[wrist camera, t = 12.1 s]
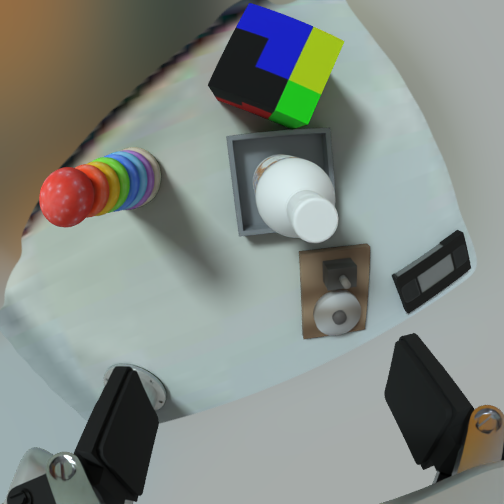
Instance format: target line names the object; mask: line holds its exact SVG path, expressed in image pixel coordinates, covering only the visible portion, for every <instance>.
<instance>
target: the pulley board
mask: <svg viewBox="0 0 504 504" xmlns="http://www.w3.org/2000/svg"><path fill="white" fill-rule="evenodd" d="M299 263H300V281H301V304H302V333H303V338H304V339H308V338H315V337H322V336H328V335H331V336H336V335H341V334H344V333H347V332H352V331H358V330H364V329H365V322H366V311H367V298H368V284H369V265H370V246H369V245H368V244H359V245H350V246H342V247H333V248H324V249H315V250H307V251H299Z"/></svg>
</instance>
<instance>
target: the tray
mask: <svg viewBox="0 0 504 504" xmlns="http://www.w3.org/2000/svg"><path fill="white" fill-rule="evenodd" d="M226 138H227V146H228V154H229V162H230V170H231V178H232V186H233V194H234V202H235V209H236V217H237V225H238V232H239V236H247V235H256V234H265V233H274V232H275V231H274V230H272V229H271V228H270V227H269V226H268V225H267V224H266V223H265V222H264V221H263V219H262V218H261V216H260V215H259V212H258V210H257V206H256V200H255V194H254V189H253V176H254V172H255V170H256V168H257V167H258V165H259V164H260V163H261V162H262V161H263V160H264V159H266V158H268V157H270V156H273V155H277V154H284V155H290V156H294V157H298V158H302V159H306V160H309V161H311V162H313V163H315V164H317V165H318V166H319V167H320V168H321V169H322V170H323V171H324V172H325V173H326V174H327V175H328V177H329V178H330V180H331V182H332V185H333V187H334V192H335V184H334V169H333V155H332V143H331V133H330V128H312V129H294V130H281V131H269V132H259V133H249V134H240V135H232V136H226ZM335 208H336V203H335Z"/></svg>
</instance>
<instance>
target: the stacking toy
mask: <svg viewBox="0 0 504 504" xmlns="http://www.w3.org/2000/svg"><path fill="white" fill-rule="evenodd" d="M160 182H161V172H160V168H159V165H158V163H157V161H156V159H155V158H154V157H153V156H152V155H151V154H150V153H149V152H148V151H146V150H144V149H141V148H137V147H130V148H126V149H123V150H121V151H119V152H114V153H111V154H109V155H107V156H104V157H102V158H98V159H95V160H94V161H92V162H90V163H88V164H84V165H80V166H77V167H76V168H71V167H65V168H61V169H58V170H56V171H55V172H53V173H51V175H49V176H48V177H47V179H46V180H45V182H44V183H43V185H42V188H41V191H40V198H39V200H40V207H41V210H42V212H43V215H44V216H45V217H46V219H47V220H48V221H49V222H51V223H52V224H54V225H56V226H59V227H72V226H75V225H77V224H79V223H80V222H82V221H83V220H84V219H85V218H86V217H92V216H100V215H103V214H106V213H110V212H115V211H120V210H131V209H135V208H137V207H141V206H143V205H145V204H147V203H148V202H150V201H151V200H152V199H153V198H154V196H155V195H156V193H157V192H158V189H159V187H160Z"/></svg>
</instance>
